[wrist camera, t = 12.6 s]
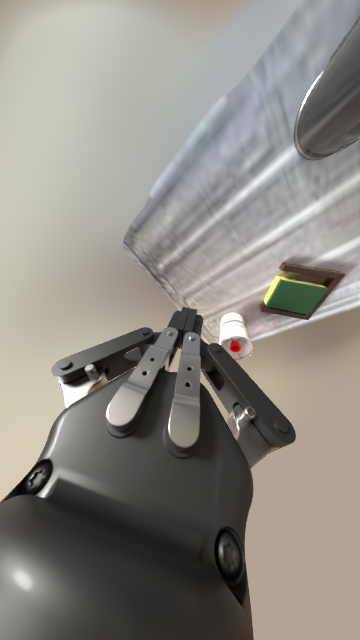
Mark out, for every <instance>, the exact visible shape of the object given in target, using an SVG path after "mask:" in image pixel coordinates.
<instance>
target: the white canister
mask: <svg viewBox="0 0 360 640" xmlns="http://www.w3.org/2000/svg"><path fill="white" fill-rule="evenodd" d="M220 345H221V346H223V347H224V349H225V350H226V351H227V352H228V353H229V354H230V355H231V356H232V358H233V359H234V360H243V359H246V358H248V357H249V356H251V355H252V353H253V351H254V346H253V344H252V343H251V340H250V337H249V333H248V330H247V328H246V325H245V322H244V319H243V317H242V316H241V315H239V314H237V313H229V314H226V315H225V316H224V317H223V318H222V319H221V328H220Z"/></svg>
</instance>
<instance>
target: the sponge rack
mask: <svg viewBox="0 0 360 640" xmlns="http://www.w3.org/2000/svg"><path fill="white" fill-rule="evenodd" d="M280 269H281V270H282V271H289V272H295V273H301V274H308V275H314V276H321V277H327V278H328V279H327V280H326V281H325V283H324V284H323V286H325V287H326V288H328V290H327V292H326V293H325V294H324V295H323V297H322V298H321V299H320V300H319V301H318V303H317V304H316V305H315V306H314V308H313V309H312V310H311V311H310V312H309V314H308V315H307V314H302V313H297V312H292V311H287V310H282V309H277V308H272V307H267V306H266V305H264V304H261V305H260V307H259V308H260V311H263V312H268V313H274V314H279V315H284V316H289V317H295V318H300V319H305V320H308V319H309V318H310V317H311V316H312V315H313V313H314V312H315V311H316V310H317V308H318V307H319V306H320V305H321V304H322V302H323V301H324V300H325V299H326V297H327V296H328V295H329V294H330V293H331V291H332V290H333V289H334V288H335V286H336V285H337V284H338V283H339V282H340V280H341V279H342V278H343V277H344V275H345V274H344V273H341V272H339V271H332V270H326V269H319V268H312V267H306V266H299V265H292V264H286V263H282V264H281V266H280Z"/></svg>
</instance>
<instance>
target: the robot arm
mask: <svg viewBox="0 0 360 640" xmlns="http://www.w3.org/2000/svg"><path fill="white" fill-rule="evenodd" d="M358 139H360V16H359V18H358V19H357V21H356V22H355V23H354V25H353V26H352V28H351V29H350V31H349V32H348V33H347V35H346V36H345V38H344V39H343V41H342V42H341V43H340V45H339V46H338V48H337V49H336V51H335V52H334V53H333V55H332V57H331V59H330V62H329V64H328V65H327V67H326V68H325V69H324V70H323V72H322V73H321V74H320V75H319V77H318V78H317V79H316V81H315V82H314V84H313V85H312V87H311V88H310V90H309V91H308V93H307V95H306V96H305V98H304V100H303V102H302V105H301V107H300V109H299V112H298V115H297V118H296V122H295V128H294V143H295V147H296V149H297V151H298V153H299V154H300V155H301V156H302V157H303V158H305V159H308V160H319V159H323V158H325V157H328V156H330V155H332V154H333V153H335V152H337V151H338V150H340V149H341V148H343V147H344V146H346V145H348V144H349V145H350V143H351V144H352V142H353V143H354V142H355V140H356V141H357V140H358ZM349 145H348V146H349ZM346 147H347V146H346ZM346 147H345V148H346ZM343 149H344V148H343ZM343 149H342V150H343ZM340 151H341V150H340ZM340 151H339V152H340ZM337 153H338V152H337ZM196 314H197V310H196V309H190V308H186V307H183V308H182V311H176V312H175V313H174V314H173V316H172V318H171V320H170V322H169V325H168V327H167V328H165V329H164V330H163V331H162V332H157V333H153V331H152V330H151V329H150V328H146V327H145V328H140V329H138V330H135V331H133V332H130V333H128V334H125V335H122V336H120V337H117V338H115V339H112V340H110V341H107V342H104V343H102V344H99V345H97V346H94V347H92V348H89V349H87V350H84V351H81V352H79V353H76V354H74V355H71V356H69V357H66V358H64V359H62V360H60V361H58V362H57V363H56V364H55V365H54V366H53V368H52V373H53V375H54V376H55V377H56V378H57V381H58V382H59V383H60V385H61V386H62V389H63V394H64V400H65V405H66V409H65V410H64V411H63V412H62V413H61V414H60V415H59V416H58V418H57V419H56V421H55V422H54V424H53V426H52V428H51V430H50V433H49V436H48V439H47V442H46V444H45V447H44V449H43V451H42V453H41V455H40V457H39V459H38V461H37V462H36V464H35V465H34V467H33V468H32V469H31V471H30V472H29V473H28V474H27V475H26V476H25V477H24V479H23V480H22V481H21V482H20V483H19V484H18V485H17V486H16V487H15V488H14V489H13V490H12V491H11V492H10V493H9V494H8V495H7V496H6V497H5V498H4V499H3V500H2V501H1V502H0V640H253V627H252V616H251V605H250V596H249V587H248V579H247V570H246V563H245V543H244V542H245V529H246V522H247V516H248V513H249V509H250V506H251V503H252V497H253V479H252V474H251V470H250V469H251V468H252V467H253V466H254V465H255V464H256V463H258V462H259V461H260V460H261V459H262V458H263V457H265V456H266V455H267V454H269V453H271V452H273V451H275V450H278V449H280V448H282V447H284V446H286V445H289V444H291V443H293V442H294V441H295V438H296V434H295V430H294V428H293V426H292V424H291V423H290V422H289V420H288V419H287V418H286V417H285V416H284V415H283V414H282V412H281V411H280V410H279V409H278V408H277V407H276V406H275V405H274V404H273V402H272V401H271V400H270V399H269V398H268V397H267V396H266V395H265V394H264V393H263V391H262V390H261V389H260V388H259V387H258V386H257V384H256V383H255V382H254V381H253V380H252V379H251V378H250V377H249V375H248V374H247V373H246V372H245V371H244V370H243V369H242V368H241V367H240V365H238V363H237V362H236V361H235V360H234V359H233V358H232V356H231V355H230V354H229V353H228V352H227V351H226V350H225V349H224V347H223V346H221V345H220V344H217V343H212V344H210V345H208V344H206V343H205V342H203V341H202V339H201V337H200V336H201V329H202V323H203V318H202V316H201V315H196ZM181 344H182V345H181ZM137 347H138V348H137ZM135 348H137V349H135ZM178 348H179V349H180V348H181V349H182V352H181V357H180V362H179V368H178V372H169V370H170V367H171V365H172V362H173V360H174V358H175V355H176V351H177V349H178ZM133 349H135V350H133ZM131 350H133V351H131ZM129 351H130V352H129ZM127 352H128V353H127ZM134 367H136V368H134ZM132 368H133V369H132ZM130 369H131V370H130ZM200 369H201V370H202V372H203V374H204V375H205V377H206V379H207V380H208V382H209V383H210V385H211V386H212V388H213V389H214V391H215V393H216V394H217V396H218V397H219V399H220V401H221V402H222V404H223V405H224V407H225V408H226V410H227V411H228V413H229V416H228V424H229V427H230V428H229V427H228V425H227V423H226V422H225V420H224V418H223V416H222V414H221V413H220V411H219V409H218V407H217V406H216V404H215V402H214V400H213V398H212V397H211V395H210V393H209V391H208V390H207V389H206V388H205V386H203V384H201V383H200ZM128 370H129V371H128ZM125 372H126V373H125ZM123 373H124V374H123ZM121 374H122V375H121ZM119 375H120V376H119ZM117 376H119V377H117ZM115 377H117V378H116V379H114V378H115ZM112 379H114V380H112ZM110 380H112V381H110ZM108 381H110V382H108ZM107 382H108V383H107ZM230 429H231V430H230ZM231 431H232V432H231Z"/></svg>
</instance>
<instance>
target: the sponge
mask: <svg viewBox="0 0 360 640" xmlns="http://www.w3.org/2000/svg"><path fill="white" fill-rule="evenodd" d="M327 290H328V288H326V287H325V286H323V285H321V284H320V283H314V282H309V281H303V280H298V279H292V278H286V277H281V276H276V278H275V280H274V282H273V284H272V285H271V287H270V289H269V291H268V293H267V295H266V297H265V298H264V302H265V304H266V306H267V307H272V308H277V309H282V310H287V311H292V312H297V313H302V314H307V315H308V314H309V312H310V311H311V310H312V309H313V308H314V306H315V305H316V304H317V303H318V301H319V300H320V299H321V298H322V297H323V295H324V294H325V293H326V292H327Z"/></svg>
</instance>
